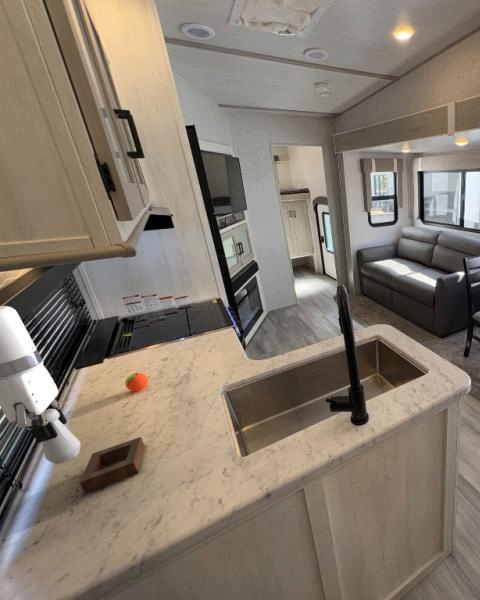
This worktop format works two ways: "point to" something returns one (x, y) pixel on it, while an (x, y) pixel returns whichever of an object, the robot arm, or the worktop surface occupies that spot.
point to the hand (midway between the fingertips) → (53, 431)
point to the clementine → (136, 382)
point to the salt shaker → (59, 440)
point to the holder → (102, 477)
